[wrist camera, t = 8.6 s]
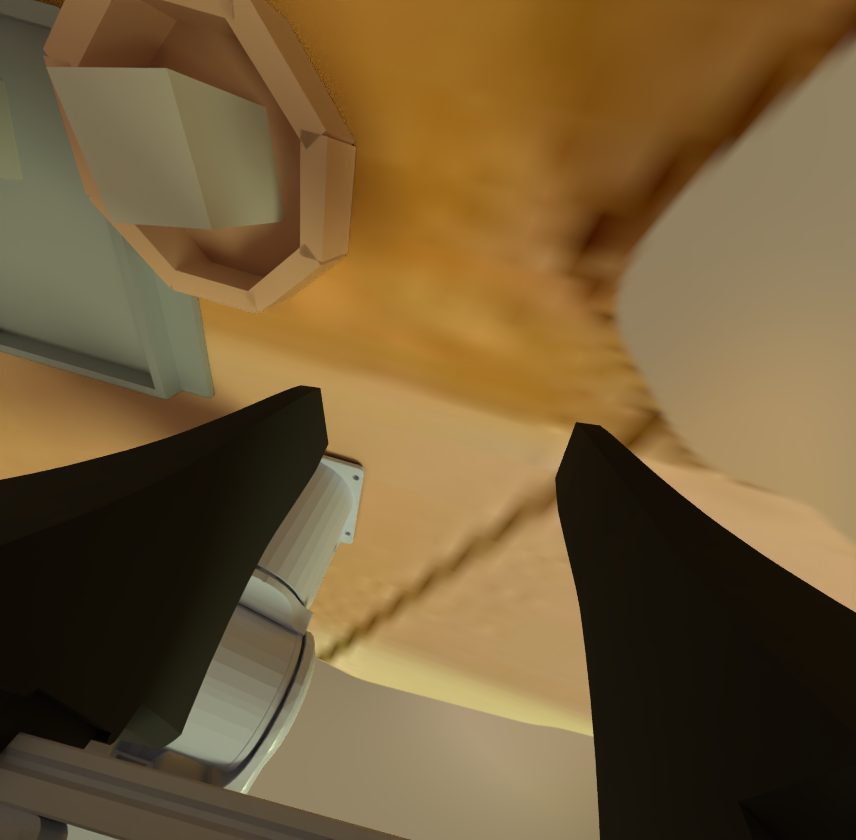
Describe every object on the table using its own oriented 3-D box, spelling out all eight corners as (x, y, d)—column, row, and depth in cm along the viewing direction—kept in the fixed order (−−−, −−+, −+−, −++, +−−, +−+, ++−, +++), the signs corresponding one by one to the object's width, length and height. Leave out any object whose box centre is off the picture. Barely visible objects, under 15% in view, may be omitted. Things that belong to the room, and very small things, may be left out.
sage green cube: (285, 221, 16) (211, 229, 12) (208, 216, 16) (111, 222, 12) (265, 107, 14) (166, 68, 9) (177, 105, 14) (45, 66, 10)
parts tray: (214, 395, 23) (195, 408, 22) (-20, 326, 23) (-55, 335, 22) (153, 41, 13) (111, 22, 12) (-250, -74, 14) (-340, -107, 12)
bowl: (342, 314, 19) (319, 332, 16) (160, 261, 19) (109, 271, 16) (364, 39, 12) (332, 0, 10) (94, -38, 13) (-4, -95, 10)
